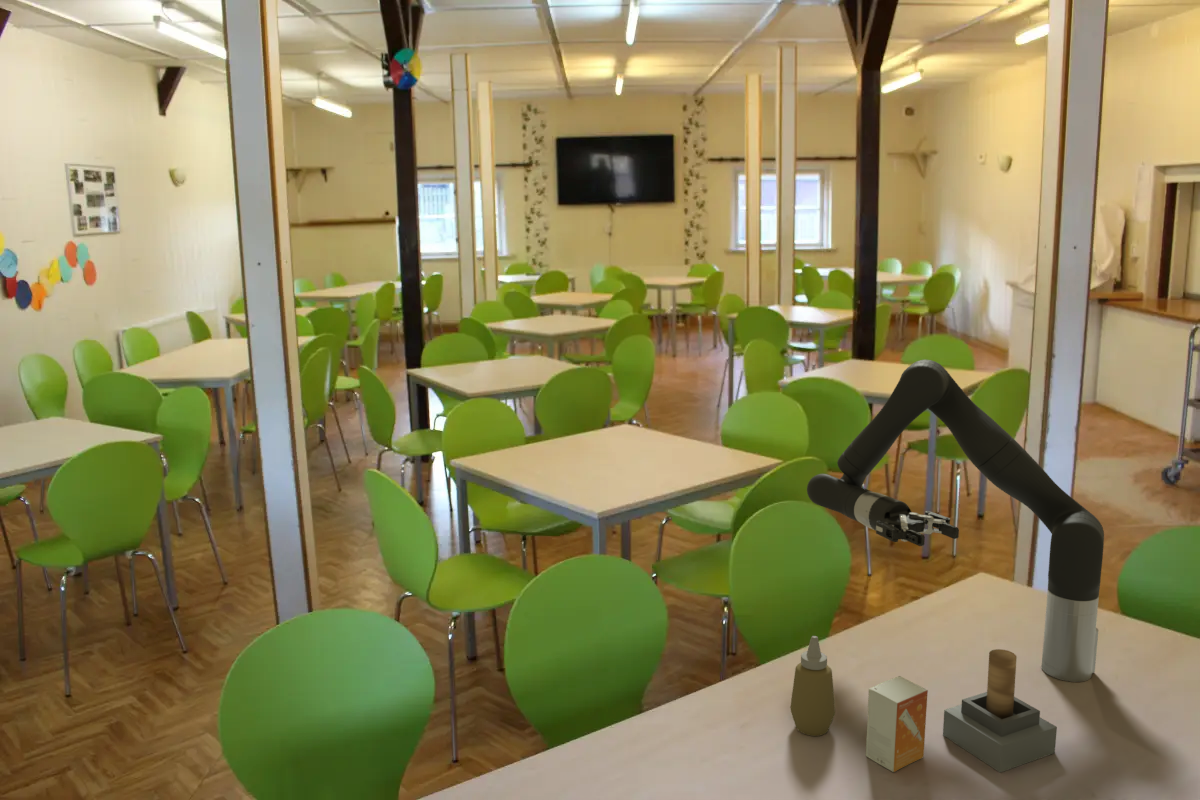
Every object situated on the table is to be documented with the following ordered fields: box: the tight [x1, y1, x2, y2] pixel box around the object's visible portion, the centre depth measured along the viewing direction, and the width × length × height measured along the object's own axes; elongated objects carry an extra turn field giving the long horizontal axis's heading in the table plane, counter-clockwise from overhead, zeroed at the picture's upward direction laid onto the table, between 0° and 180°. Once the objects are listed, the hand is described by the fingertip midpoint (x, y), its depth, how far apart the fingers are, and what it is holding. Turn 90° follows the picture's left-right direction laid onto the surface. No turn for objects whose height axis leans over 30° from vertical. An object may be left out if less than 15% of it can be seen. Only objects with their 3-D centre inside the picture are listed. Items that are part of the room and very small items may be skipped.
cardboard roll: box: [986, 648, 1018, 719], centre depth 168 cm, size 4×4×12 cm
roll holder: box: [942, 691, 1058, 773], centre depth 169 cm, size 13×13×8 cm
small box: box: [865, 675, 929, 773], centre depth 165 cm, size 8×6×13 cm
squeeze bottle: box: [789, 635, 836, 737], centre depth 174 cm, size 8×8×18 cm
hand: (940, 537), depth 182 cm, fingers open, 8 cm apart
